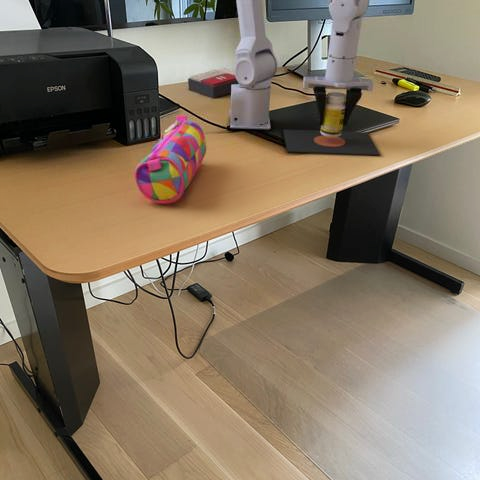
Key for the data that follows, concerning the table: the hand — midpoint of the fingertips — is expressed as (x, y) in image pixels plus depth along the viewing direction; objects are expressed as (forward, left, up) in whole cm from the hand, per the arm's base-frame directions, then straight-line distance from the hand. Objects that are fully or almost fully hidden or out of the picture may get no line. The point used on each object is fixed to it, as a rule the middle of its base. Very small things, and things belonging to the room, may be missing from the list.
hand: (332, 124), depth 112 cm
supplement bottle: (0, 0, -2) cm, 2 cm away
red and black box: (-26, +41, -4) cm, 49 cm away
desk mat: (0, 0, -4) cm, 4 cm away
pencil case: (-33, -24, -4) cm, 41 cm away
